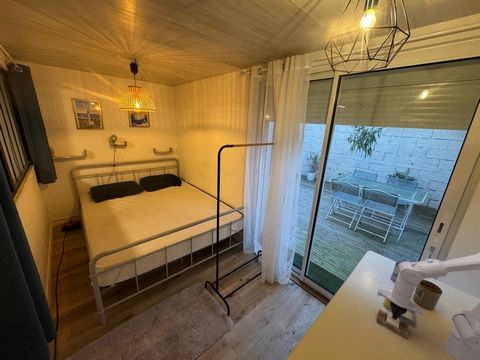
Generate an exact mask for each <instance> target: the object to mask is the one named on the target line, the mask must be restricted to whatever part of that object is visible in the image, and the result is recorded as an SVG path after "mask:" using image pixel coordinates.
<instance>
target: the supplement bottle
mask: <svg viewBox="0 0 480 360" xmlns="http://www.w3.org/2000/svg"><path fill="white" fill-rule="evenodd" d="M387 291H388V292H391V293H392V292H393V288H392V289H390V288H389V289H388V290H387ZM382 304H383V305H382V306H383V307H384V309H386V310H387V311H390V312H392V309H391V306H390V300H389V299H387V298H385V297H384V300H383V302H382Z"/></svg>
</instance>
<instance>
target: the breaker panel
mask: <svg viewBox="0 0 480 360" xmlns="http://www.w3.org/2000/svg"><path fill="white" fill-rule="evenodd" d="M387 314H388V313H387V312H386V311H383V310H381V309H380V308H379V309H378V311H377V316H376V323H377V324H378V325H380V326H383V327H384V328H385V329H388V330H390V331H391V332H393V333H395V334H396V335H399V336H400V337H402V338H404V339H405V340H407V339H408V336H409V325H408V324H407V323H405V322H403V321H401V320H399V328H397V327H395V326H393V325H391V324H390V323H388V322H386V317H387Z"/></svg>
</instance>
